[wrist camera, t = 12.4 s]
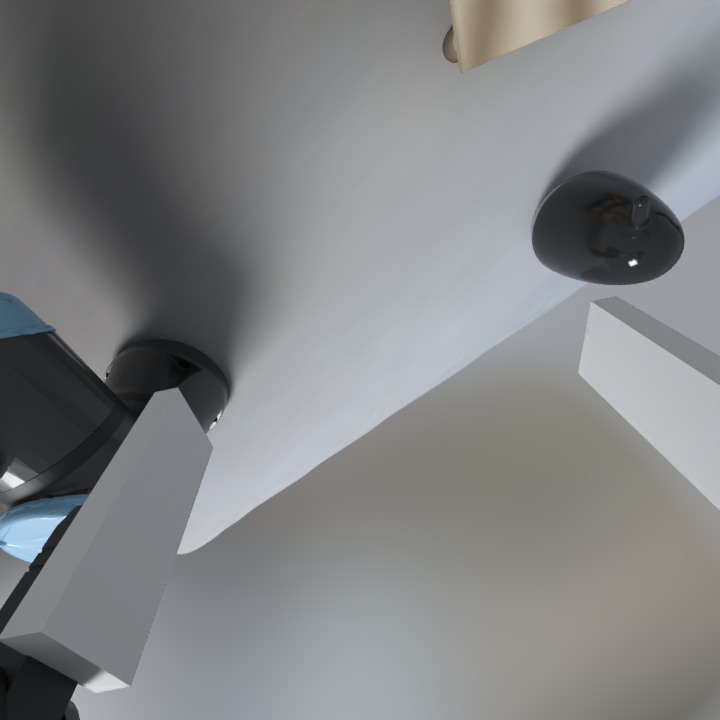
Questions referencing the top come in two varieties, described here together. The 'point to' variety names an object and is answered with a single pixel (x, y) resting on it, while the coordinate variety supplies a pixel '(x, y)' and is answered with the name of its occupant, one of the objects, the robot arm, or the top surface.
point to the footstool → (509, 25)
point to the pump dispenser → (606, 231)
